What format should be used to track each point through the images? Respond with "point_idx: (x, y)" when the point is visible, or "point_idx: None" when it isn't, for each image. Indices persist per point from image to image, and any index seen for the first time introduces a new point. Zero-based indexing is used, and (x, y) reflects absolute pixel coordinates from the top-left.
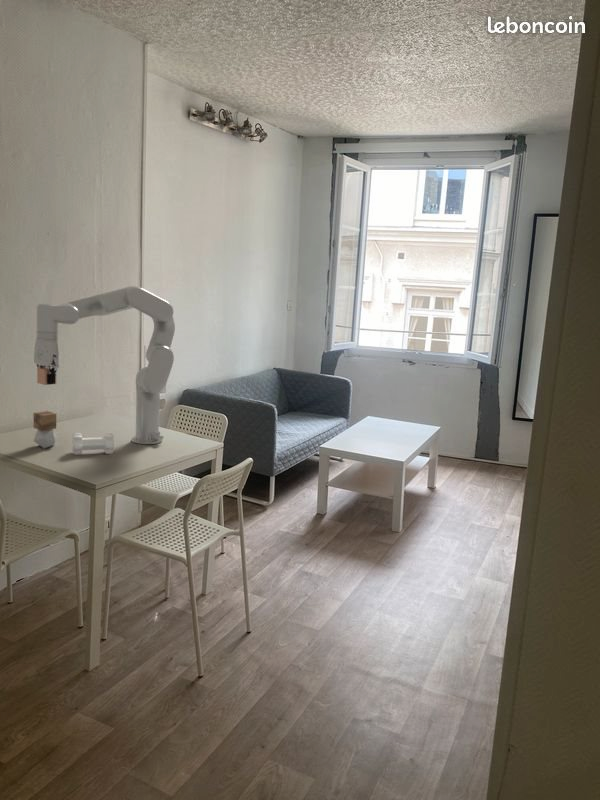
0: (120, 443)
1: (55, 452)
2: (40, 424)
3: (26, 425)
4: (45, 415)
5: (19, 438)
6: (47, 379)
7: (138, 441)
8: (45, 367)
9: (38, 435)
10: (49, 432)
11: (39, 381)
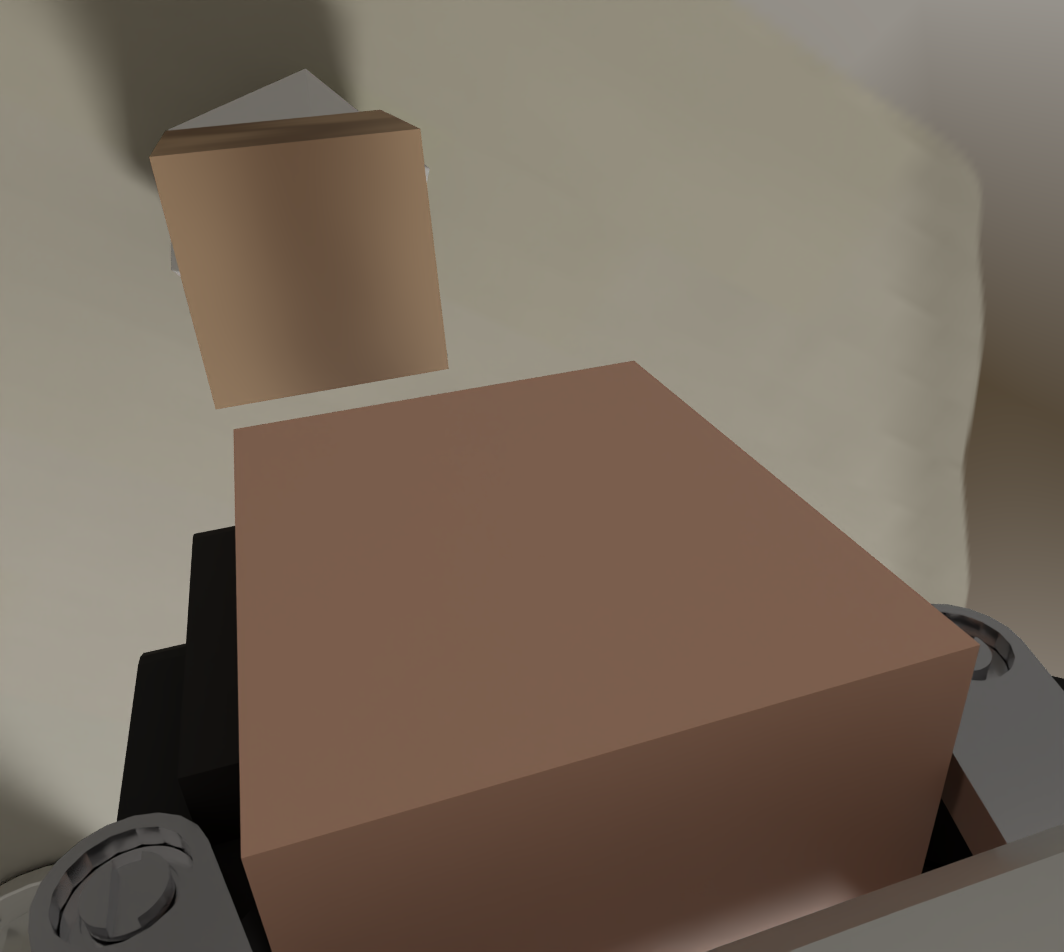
0: (97, 773)
1: (4, 179)
2: (211, 134)
3: (979, 362)
4: (166, 218)
5: (693, 126)
6: (208, 611)
7: (5, 895)
8: None
9: (258, 114)
10: None
11: (539, 404)
